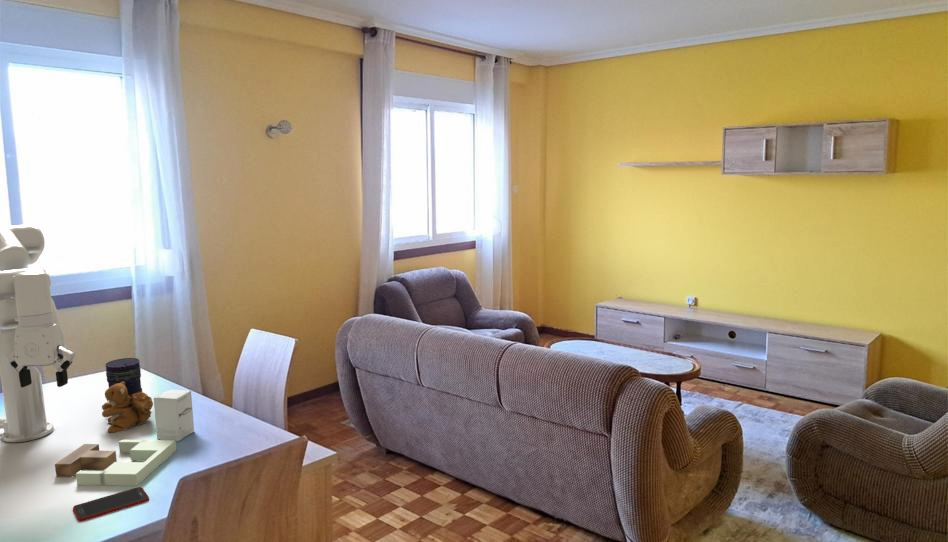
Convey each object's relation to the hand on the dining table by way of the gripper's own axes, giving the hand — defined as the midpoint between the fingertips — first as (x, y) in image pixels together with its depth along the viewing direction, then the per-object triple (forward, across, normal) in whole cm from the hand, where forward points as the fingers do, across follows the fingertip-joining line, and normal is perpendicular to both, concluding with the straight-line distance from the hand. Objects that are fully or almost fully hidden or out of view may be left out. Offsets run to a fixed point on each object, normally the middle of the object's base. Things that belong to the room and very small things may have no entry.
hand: (44, 385), depth 173 cm
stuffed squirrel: (+22, +5, +27) cm, 35 cm away
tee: (+22, +10, 0) cm, 24 cm away
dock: (+22, +20, 0) cm, 30 cm away
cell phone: (+23, +27, -19) cm, 40 cm away
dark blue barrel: (+21, -4, +41) cm, 47 cm away
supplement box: (+22, +23, +20) cm, 37 cm away
